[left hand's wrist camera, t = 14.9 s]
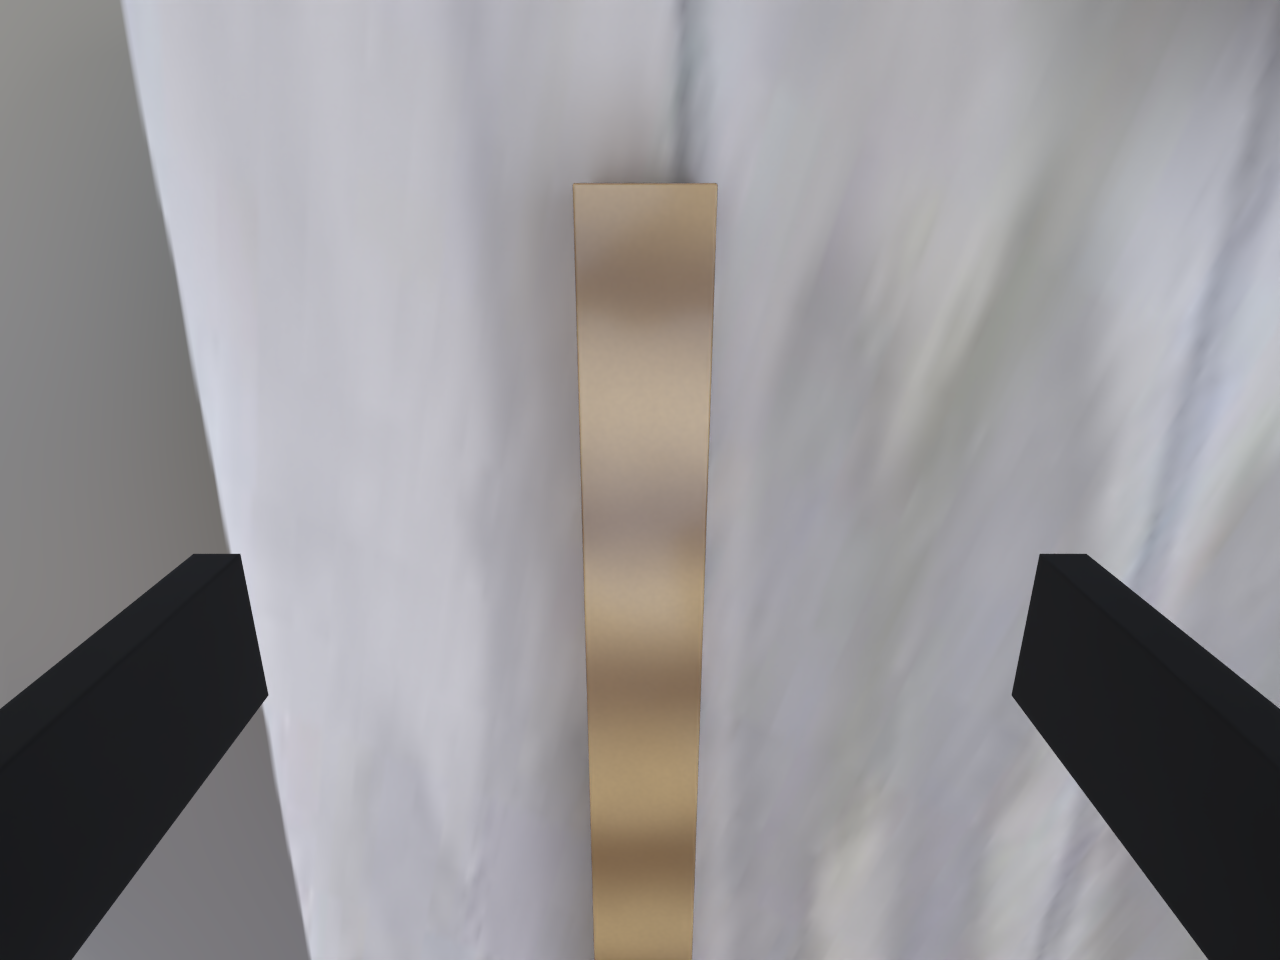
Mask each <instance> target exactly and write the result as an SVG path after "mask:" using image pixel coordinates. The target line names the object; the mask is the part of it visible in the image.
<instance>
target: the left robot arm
mask: <svg viewBox="0 0 1280 960" xmlns="http://www.w3.org/2000/svg"><path fill="white" fill-rule="evenodd" d="M267 696H268V691H267V686H266V681H265V676H264V671H263V666H262V661H261V656H260V651H259V646H258V641H257V636H256V631H255V626H254V621H253V616H252V611H251V605H250V600H249V595H248V590H247V585H246V580H245V575H244V570H243V565H242V560H241V555H240V554H193V555H192V556H190V557H189V558H188V559H187V560H185V561H184V562H183V563H182V564H180V565H179V566H178V567H177V568H175V569H174V570H173V571H172V572H170V573H169V574H168V575H167V576H165V577H164V578H163V579H162V580H160V581H159V582H158V583H157V584H156V585H154V586H153V587H152V588H151V589H149V590H148V591H147V592H146V593H144V594H143V595H142V596H141V597H139V598H138V599H137V600H136V601H134V602H133V603H132V604H131V605H129V606H128V607H127V608H126V609H124V610H123V611H122V612H121V613H119V614H118V615H117V616H116V617H114V618H113V619H112V620H111V621H109V622H108V623H107V624H106V625H104V626H103V627H102V628H101V629H99V630H98V631H97V632H96V633H94V634H93V635H92V636H91V637H89V638H88V639H87V640H86V641H84V642H83V643H82V644H81V645H80V646H78V647H77V648H76V649H74V650H73V651H72V652H71V653H69V654H68V655H67V656H66V657H64V658H63V659H62V660H61V661H59V662H58V663H57V664H56V665H55V666H53V667H52V668H51V669H50V670H48V671H47V672H46V673H45V674H43V675H42V676H41V677H40V678H38V679H37V680H36V681H35V682H33V683H32V684H31V685H30V686H28V687H27V688H26V689H25V690H23V691H22V692H21V693H20V694H18V695H17V696H16V697H15V698H13V699H12V700H11V701H10V702H8V703H7V704H6V705H5V706H3V707H2V708H1V709H0V960H72V958H73V957H74V956H75V954H76V953H77V952H78V950H79V949H80V948H81V946H82V945H83V943H84V942H85V941H86V940H87V938H88V937H89V936H90V934H91V933H92V931H93V930H94V929H95V927H96V926H97V925H98V923H99V922H100V921H101V919H102V918H103V917H104V915H105V914H106V913H107V911H108V910H109V909H110V907H111V906H112V905H113V903H114V902H115V901H116V899H117V898H118V896H119V895H120V894H121V893H122V891H123V890H124V888H125V887H126V886H127V884H128V883H129V882H130V880H131V879H132V878H133V876H134V875H135V874H136V872H137V871H138V870H139V868H140V867H141V866H142V864H143V863H144V862H145V860H146V859H147V858H148V856H149V855H150V854H151V852H152V851H153V850H154V848H155V847H156V845H157V844H158V843H159V841H160V840H161V839H162V837H163V836H164V835H165V833H166V832H167V831H168V829H169V828H170V827H171V825H172V824H173V823H174V821H175V820H176V819H177V817H178V816H179V815H180V813H181V812H182V810H183V809H184V808H185V807H186V805H187V804H188V802H189V801H190V800H191V798H192V797H193V796H194V794H195V793H196V792H197V790H198V789H199V788H200V786H201V785H202V784H203V782H204V781H205V780H206V778H207V777H208V776H209V774H210V773H211V772H212V770H213V769H214V768H215V766H216V765H217V764H218V762H219V761H220V759H221V758H222V757H223V755H224V754H225V753H226V751H227V750H228V749H229V747H230V746H231V745H232V743H233V742H234V741H235V739H236V738H237V737H238V735H239V734H240V732H241V731H242V730H243V729H244V727H245V726H246V724H247V723H248V722H249V721H250V719H251V718H252V716H253V715H254V714H255V712H256V711H257V710H258V708H259V707H260V706H261V704H262V703H263V702H264V700H265V699H266V698H267ZM1012 696H1013V698H1014V699H1015V700H1016V702H1017V703H1018V704H1019V706H1020V707H1021V708H1022V710H1023V711H1024V712H1025V714H1026V715H1027V717H1028V718H1029V719H1030V721H1031V722H1032V723H1033V725H1034V726H1035V727H1036V729H1037V730H1038V731H1039V733H1040V734H1041V735H1042V737H1043V738H1044V739H1045V741H1046V742H1047V743H1048V745H1049V746H1050V747H1051V749H1052V750H1053V751H1054V753H1055V754H1056V755H1057V757H1058V758H1059V760H1060V761H1061V762H1062V764H1063V765H1064V766H1065V768H1066V769H1067V770H1068V772H1069V773H1070V774H1071V776H1072V777H1073V778H1074V780H1075V781H1076V782H1077V784H1078V785H1079V786H1080V788H1081V789H1082V790H1083V792H1084V793H1085V794H1086V796H1087V797H1088V798H1089V800H1090V801H1091V802H1092V804H1093V805H1094V807H1095V808H1096V809H1097V811H1098V812H1099V813H1100V815H1101V816H1102V817H1103V819H1104V820H1105V821H1106V823H1107V824H1108V825H1109V827H1110V828H1111V829H1112V831H1113V832H1114V833H1115V835H1116V836H1117V837H1118V839H1119V840H1120V841H1121V843H1122V844H1123V845H1124V847H1125V848H1126V850H1127V851H1128V852H1129V854H1130V855H1131V856H1132V858H1133V859H1134V860H1135V862H1136V863H1137V864H1138V866H1139V867H1140V868H1141V870H1142V871H1143V872H1144V874H1145V875H1146V876H1147V878H1148V879H1149V880H1150V882H1151V883H1152V884H1153V886H1154V887H1155V888H1156V890H1157V891H1158V893H1159V894H1160V895H1161V897H1162V898H1163V899H1164V901H1165V902H1166V903H1167V905H1168V906H1169V907H1170V909H1171V910H1172V911H1173V913H1174V914H1175V915H1176V917H1177V918H1178V919H1179V921H1180V922H1181V923H1182V925H1183V926H1184V927H1185V929H1186V930H1187V931H1188V933H1189V934H1190V936H1191V937H1192V938H1193V940H1194V941H1195V942H1196V944H1197V945H1198V946H1199V948H1200V949H1201V950H1202V952H1203V953H1204V954H1205V956H1206V957H1207V958H1208V960H1280V709H1279V708H1278V707H1277V706H1275V705H1274V704H1273V703H1272V702H1270V701H1269V700H1268V699H1267V698H1265V697H1264V696H1263V695H1262V694H1260V693H1259V692H1258V691H1257V690H1255V689H1254V688H1253V687H1252V686H1250V685H1249V684H1248V683H1247V682H1245V681H1244V680H1243V679H1242V678H1240V677H1239V676H1238V675H1237V674H1235V673H1234V672H1233V671H1232V670H1230V669H1229V668H1228V667H1227V666H1225V665H1224V664H1223V663H1222V662H1221V661H1219V660H1218V659H1217V658H1216V657H1214V656H1213V655H1212V654H1211V653H1209V652H1208V651H1207V650H1206V649H1204V648H1203V647H1202V646H1201V645H1199V644H1198V643H1197V642H1196V641H1194V640H1193V639H1192V638H1191V637H1189V636H1188V635H1187V634H1186V633H1184V632H1183V631H1182V630H1181V629H1179V628H1178V627H1177V626H1176V625H1174V624H1173V623H1172V622H1171V621H1169V620H1168V619H1167V618H1166V617H1164V616H1163V615H1162V614H1161V613H1159V612H1158V611H1157V610H1156V609H1154V608H1153V607H1152V606H1151V605H1149V604H1148V603H1147V602H1146V601H1144V600H1143V599H1142V598H1141V597H1139V596H1138V595H1137V594H1136V593H1134V592H1133V591H1132V590H1131V589H1130V588H1128V587H1127V586H1126V585H1125V584H1123V583H1122V582H1121V581H1120V580H1118V579H1117V578H1116V577H1115V576H1113V575H1112V574H1111V573H1110V572H1108V571H1107V570H1106V569H1105V568H1103V567H1102V566H1101V565H1100V564H1098V563H1097V562H1096V561H1095V560H1093V559H1092V558H1091V557H1090V556H1088V555H1087V554H1040V555H1039V560H1038V565H1037V570H1036V575H1035V580H1034V585H1033V590H1032V595H1031V600H1030V605H1029V610H1028V616H1027V621H1026V626H1025V631H1024V636H1023V641H1022V646H1021V651H1020V656H1019V661H1018V666H1017V671H1016V676H1015V681H1014V686H1013V691H1012Z"/></svg>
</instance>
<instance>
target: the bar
mask: <svg viewBox="0 0 1280 960" xmlns="http://www.w3.org/2000/svg"><path fill="white" fill-rule="evenodd" d="M717 189H718V185H717V184H716V183H574V184H573V213H574V249H575V285H576V321H577V356H578V392H579V428H580V464H581V499H582V535H583V571H584V607H585V642H586V678H587V714H588V750H589V785H590V821H591V857H592V893H593V928H594V960H692V941H693V911H694V881H695V851H696V821H697V791H698V761H699V731H700V701H701V671H702V641H703V610H704V580H705V550H706V520H707V490H708V460H709V430H710V400H711V370H712V340H713V310H714V280H715V250H716V219H717Z"/></svg>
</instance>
